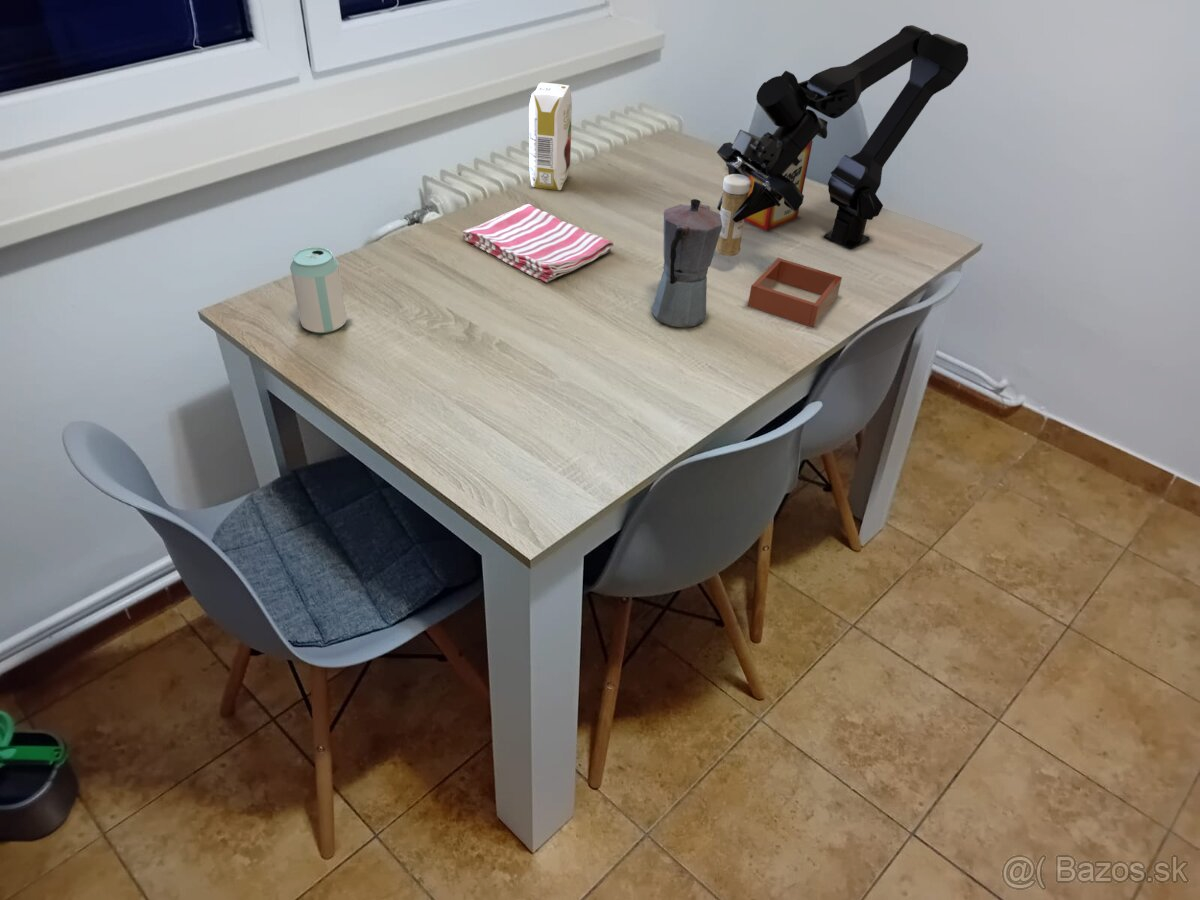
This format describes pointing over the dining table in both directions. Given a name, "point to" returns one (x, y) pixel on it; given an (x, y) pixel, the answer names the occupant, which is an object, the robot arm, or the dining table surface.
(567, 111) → the juice carton
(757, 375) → the dining table surface
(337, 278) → the can
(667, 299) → the moka pot
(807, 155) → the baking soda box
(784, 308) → the holder
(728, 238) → the sprinkles bottle
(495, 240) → the dish towel
